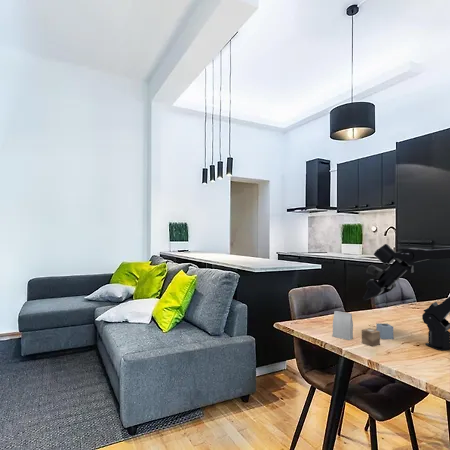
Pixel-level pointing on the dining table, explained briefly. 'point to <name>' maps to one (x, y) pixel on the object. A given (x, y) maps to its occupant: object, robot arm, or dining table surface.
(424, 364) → the dining table surface
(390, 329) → the slate block
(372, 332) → the walnut block
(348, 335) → the grey tapered block
